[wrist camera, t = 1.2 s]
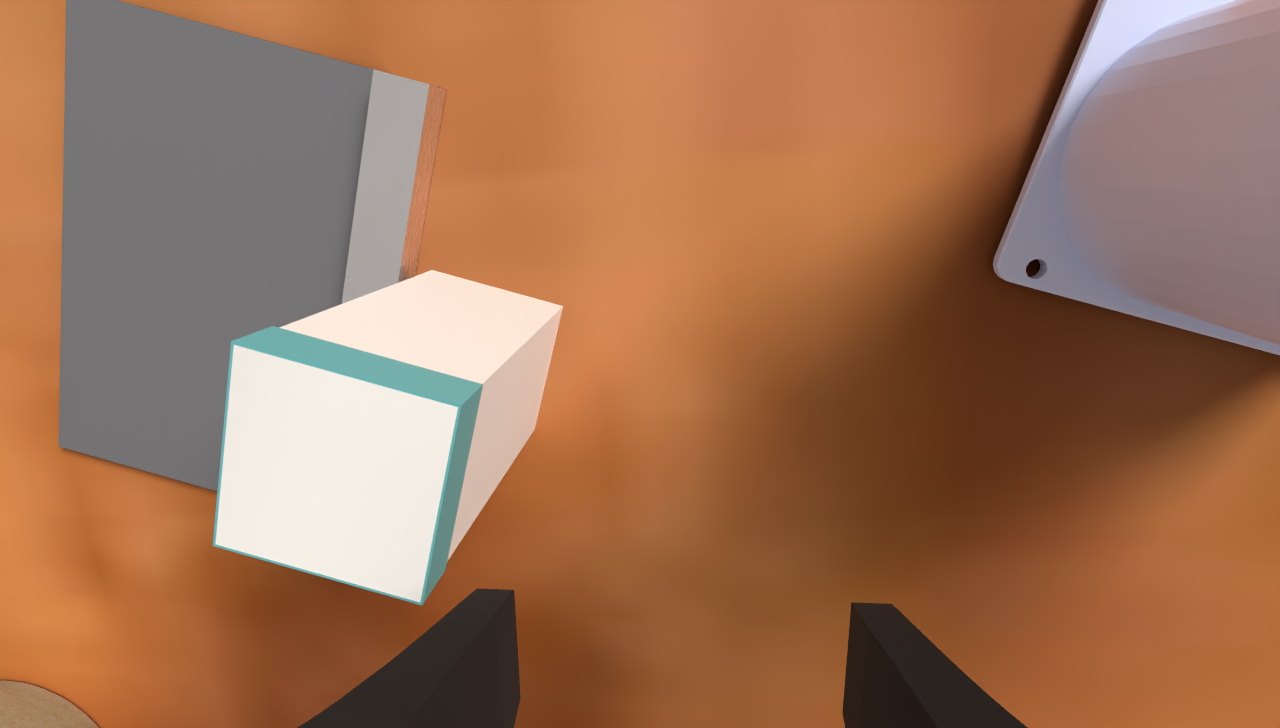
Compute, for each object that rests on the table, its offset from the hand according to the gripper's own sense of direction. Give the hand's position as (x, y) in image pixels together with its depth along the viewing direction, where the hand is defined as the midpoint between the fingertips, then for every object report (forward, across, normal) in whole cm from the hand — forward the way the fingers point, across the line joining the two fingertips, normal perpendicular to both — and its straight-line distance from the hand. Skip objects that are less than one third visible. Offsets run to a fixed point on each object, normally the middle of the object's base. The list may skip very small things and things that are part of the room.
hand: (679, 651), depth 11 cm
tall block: (+10, +6, -2) cm, 12 cm away
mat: (+11, +14, -4) cm, 18 cm away
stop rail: (+11, +9, -3) cm, 14 cm away
